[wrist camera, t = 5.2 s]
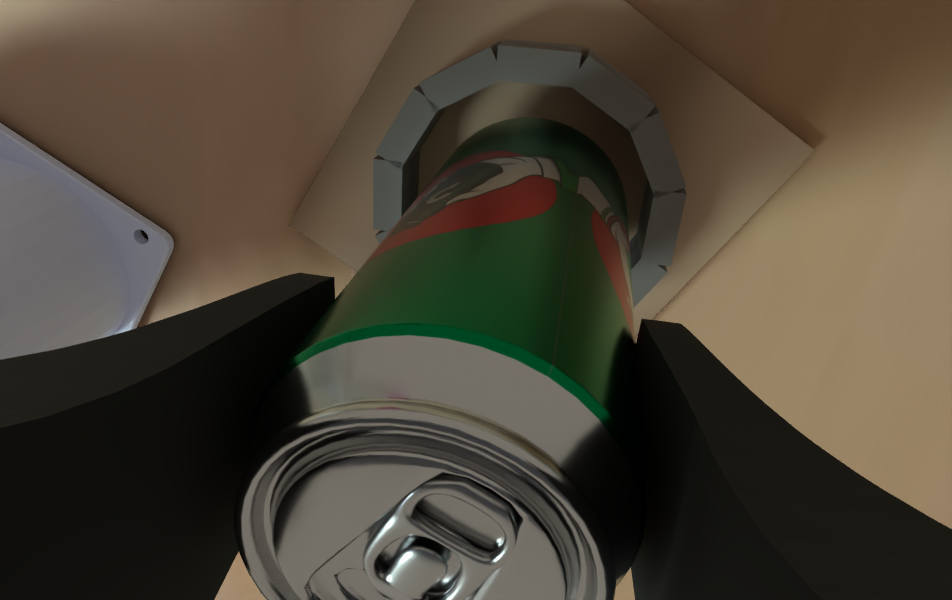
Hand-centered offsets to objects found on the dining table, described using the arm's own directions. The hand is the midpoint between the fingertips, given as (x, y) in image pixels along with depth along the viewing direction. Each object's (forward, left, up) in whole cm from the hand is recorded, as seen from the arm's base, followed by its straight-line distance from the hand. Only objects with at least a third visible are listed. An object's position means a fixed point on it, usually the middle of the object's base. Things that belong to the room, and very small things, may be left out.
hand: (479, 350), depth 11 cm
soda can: (0, 0, -8) cm, 8 cm away
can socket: (0, 0, -10) cm, 10 cm away
